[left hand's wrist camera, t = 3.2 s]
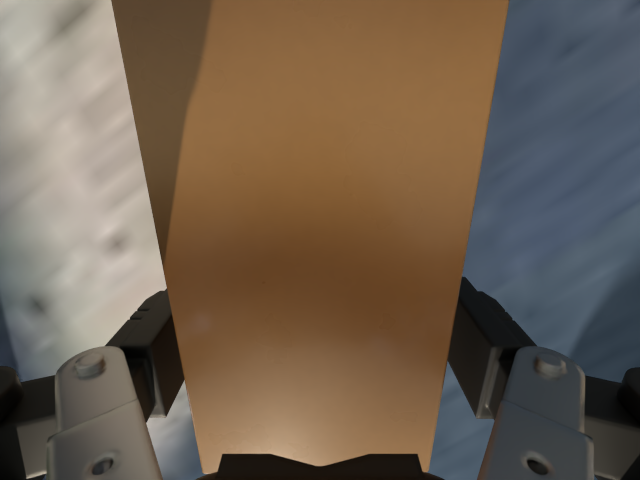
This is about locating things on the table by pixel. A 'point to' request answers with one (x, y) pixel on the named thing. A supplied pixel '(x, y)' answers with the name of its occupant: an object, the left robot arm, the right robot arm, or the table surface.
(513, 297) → the table surface
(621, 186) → the table surface
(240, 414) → the box
